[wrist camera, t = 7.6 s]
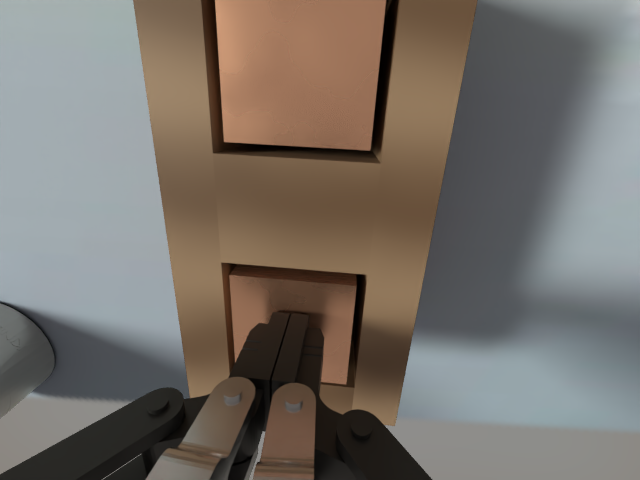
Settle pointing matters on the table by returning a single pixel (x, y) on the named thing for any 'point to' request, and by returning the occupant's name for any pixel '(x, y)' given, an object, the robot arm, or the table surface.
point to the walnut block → (304, 190)
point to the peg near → (299, 71)
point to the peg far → (297, 307)
